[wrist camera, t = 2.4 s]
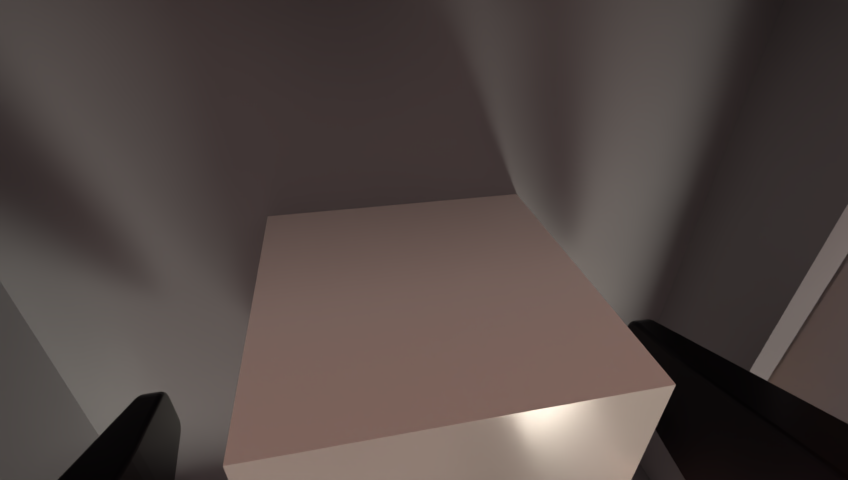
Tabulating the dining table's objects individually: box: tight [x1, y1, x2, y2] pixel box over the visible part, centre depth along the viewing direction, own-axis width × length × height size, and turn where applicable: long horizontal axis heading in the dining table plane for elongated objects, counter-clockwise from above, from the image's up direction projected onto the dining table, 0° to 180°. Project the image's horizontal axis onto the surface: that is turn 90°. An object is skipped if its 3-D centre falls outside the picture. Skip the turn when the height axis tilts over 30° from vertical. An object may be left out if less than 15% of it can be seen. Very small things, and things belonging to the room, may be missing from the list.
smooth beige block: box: [223, 194, 676, 480], centre depth 8 cm, size 5×5×5 cm
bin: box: [0, 0, 848, 480], centre depth 9 cm, size 15×16×4 cm
